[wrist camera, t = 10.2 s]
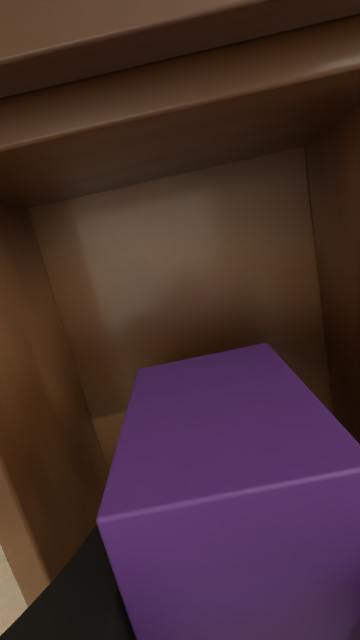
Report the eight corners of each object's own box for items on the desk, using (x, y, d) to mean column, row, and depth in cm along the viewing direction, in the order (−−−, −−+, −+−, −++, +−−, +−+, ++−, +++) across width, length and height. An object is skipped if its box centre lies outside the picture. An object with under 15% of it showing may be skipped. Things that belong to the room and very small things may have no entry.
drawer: (372, 576, 17) (507, 803, 10) (133, 620, 17) (107, 869, 10) (332, 121, 11) (554, -45, 5) (-8, 198, 12) (-241, 143, 5)
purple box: (266, 341, 10) (382, 465, 4) (299, 549, 12) (406, 814, 6) (137, 368, 10) (93, 520, 4) (189, 570, 12) (203, 846, 6)
